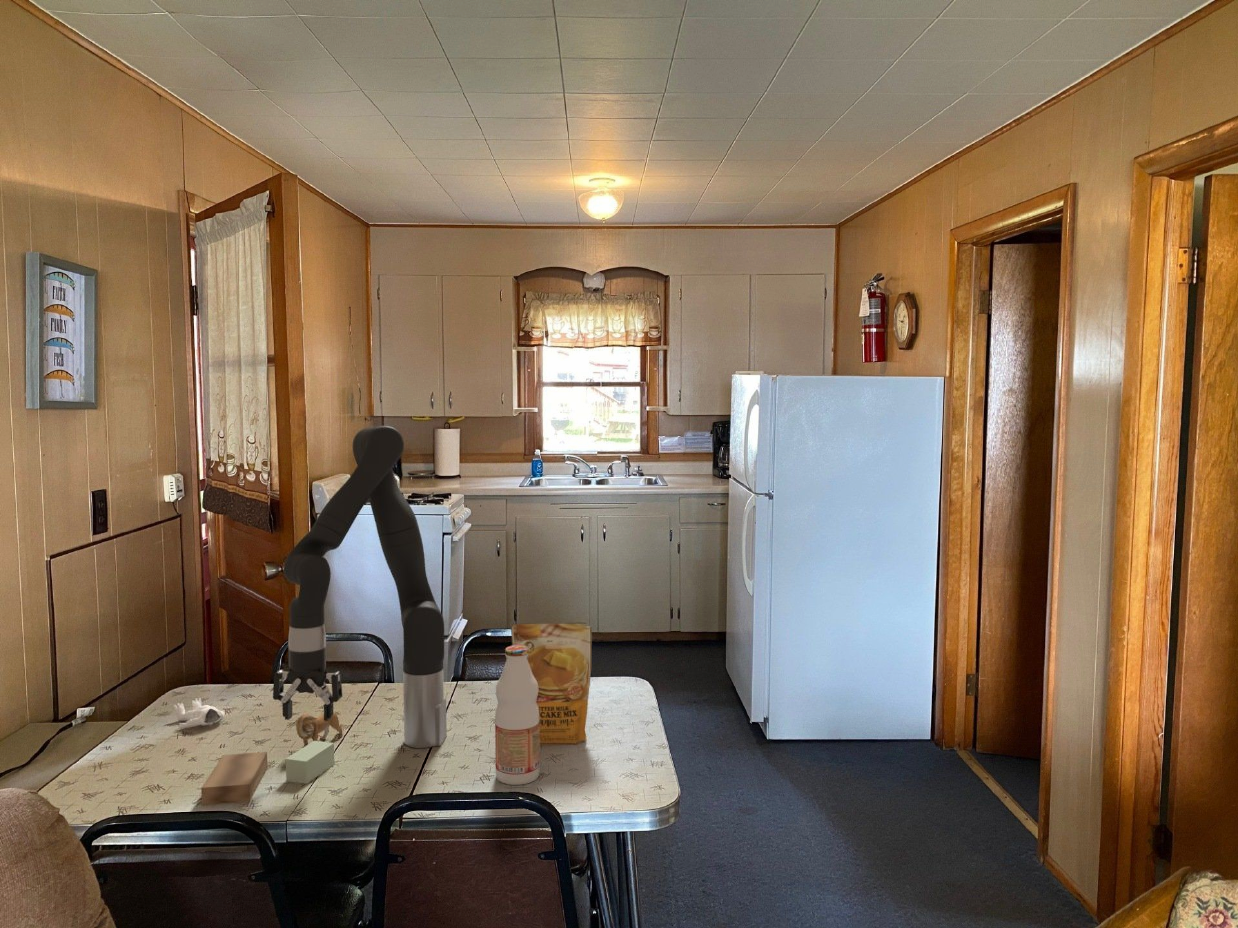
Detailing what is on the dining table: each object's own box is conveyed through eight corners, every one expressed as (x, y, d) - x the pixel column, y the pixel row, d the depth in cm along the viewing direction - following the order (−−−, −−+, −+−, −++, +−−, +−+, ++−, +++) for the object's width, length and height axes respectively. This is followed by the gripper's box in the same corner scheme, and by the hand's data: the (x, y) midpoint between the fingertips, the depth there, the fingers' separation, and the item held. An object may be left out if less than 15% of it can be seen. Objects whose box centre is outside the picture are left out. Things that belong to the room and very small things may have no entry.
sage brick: (334, 764, 191) (333, 742, 190) (306, 784, 181) (306, 761, 181) (314, 762, 192) (314, 740, 192) (286, 781, 182) (285, 758, 182)
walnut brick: (267, 769, 189) (267, 751, 188) (250, 803, 173) (249, 783, 173) (223, 772, 187) (223, 754, 187) (202, 807, 171) (201, 787, 171)
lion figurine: (310, 757, 194) (309, 718, 193) (290, 755, 195) (289, 716, 195) (348, 733, 208) (347, 697, 207) (329, 731, 210) (328, 695, 209)
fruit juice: (506, 789, 178) (505, 657, 176) (488, 773, 186) (487, 645, 184) (547, 779, 183) (546, 650, 181) (527, 763, 191) (527, 639, 189)
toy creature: (209, 694, 223) (232, 692, 216) (213, 717, 223) (236, 717, 216) (162, 707, 214) (184, 706, 207) (165, 731, 213) (188, 731, 206)
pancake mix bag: (513, 734, 208) (512, 620, 205) (592, 734, 208) (592, 620, 206) (510, 745, 201) (509, 627, 199) (592, 745, 201) (592, 627, 199)
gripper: (346, 641, 188) (346, 714, 189) (282, 639, 189) (283, 711, 190) (333, 651, 180) (333, 726, 182) (266, 649, 181) (267, 724, 182)
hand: (308, 719), depth 186 cm, fingers open, 8 cm apart
